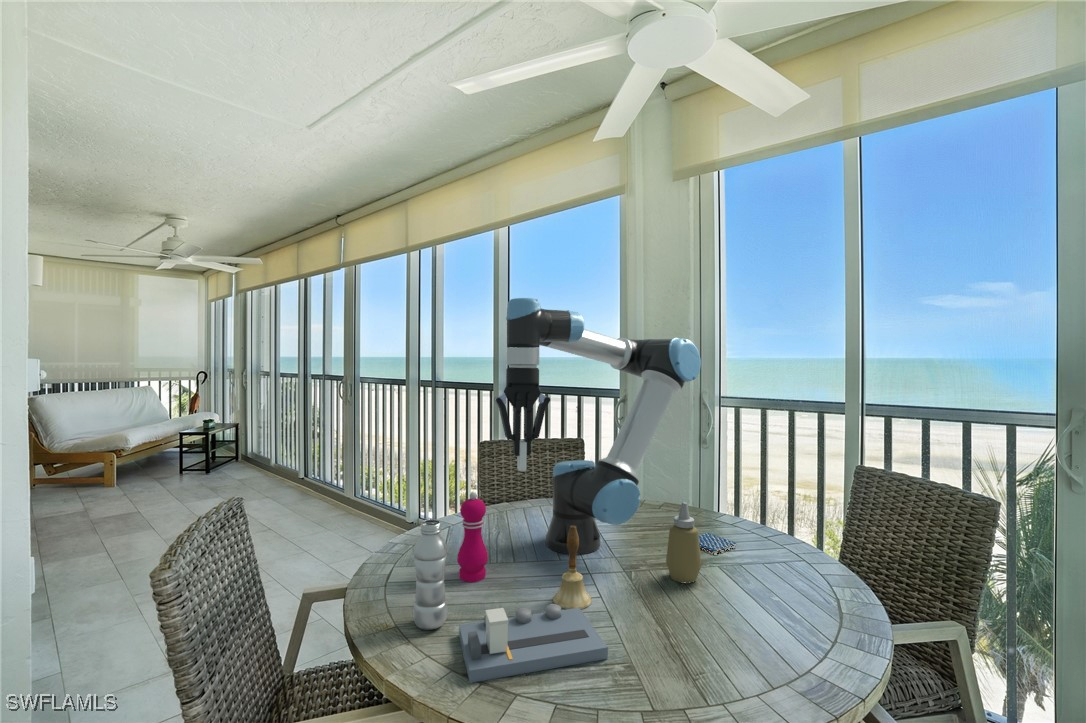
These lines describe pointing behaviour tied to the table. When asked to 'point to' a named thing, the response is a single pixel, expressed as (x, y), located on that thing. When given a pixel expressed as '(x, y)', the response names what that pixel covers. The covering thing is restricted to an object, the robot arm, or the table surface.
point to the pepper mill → (472, 541)
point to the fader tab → (496, 630)
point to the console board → (532, 644)
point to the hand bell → (572, 579)
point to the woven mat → (714, 543)
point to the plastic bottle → (430, 577)
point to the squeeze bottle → (683, 548)
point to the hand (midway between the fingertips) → (521, 469)
